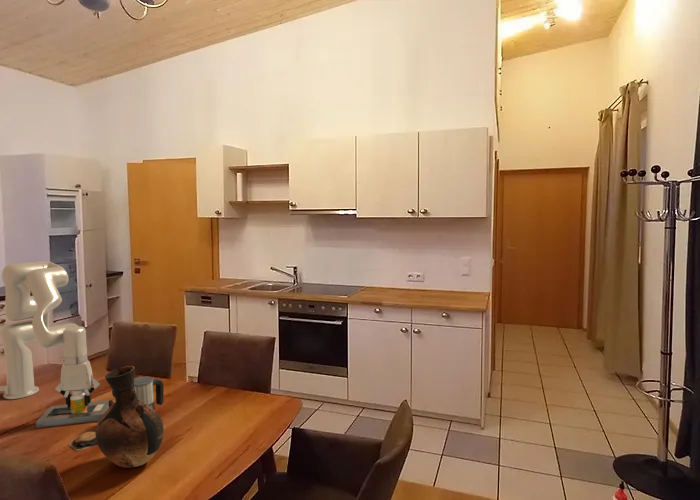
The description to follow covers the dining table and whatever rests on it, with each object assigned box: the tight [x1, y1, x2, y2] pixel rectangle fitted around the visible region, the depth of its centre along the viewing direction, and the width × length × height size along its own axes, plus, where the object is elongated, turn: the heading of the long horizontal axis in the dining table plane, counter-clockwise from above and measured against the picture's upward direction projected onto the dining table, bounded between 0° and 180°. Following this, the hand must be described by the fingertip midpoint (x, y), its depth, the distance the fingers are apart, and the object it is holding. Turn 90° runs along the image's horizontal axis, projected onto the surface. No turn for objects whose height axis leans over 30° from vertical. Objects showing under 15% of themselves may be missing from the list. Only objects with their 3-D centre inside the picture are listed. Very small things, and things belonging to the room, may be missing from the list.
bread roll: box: [68, 430, 98, 452], centre depth 156 cm, size 11×8×4 cm
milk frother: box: [134, 376, 165, 411], centre depth 176 cm, size 14×16×15 cm
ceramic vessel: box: [95, 365, 164, 469], centre depth 141 cm, size 21×18×30 cm
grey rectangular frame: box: [35, 399, 110, 429], centre depth 176 cm, size 22×14×2 cm, turn 104°
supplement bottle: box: [70, 389, 87, 414], centre depth 176 cm, size 5×5×10 cm
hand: (78, 404), depth 176 cm, fingers closed on supplement bottle, 5 cm apart
